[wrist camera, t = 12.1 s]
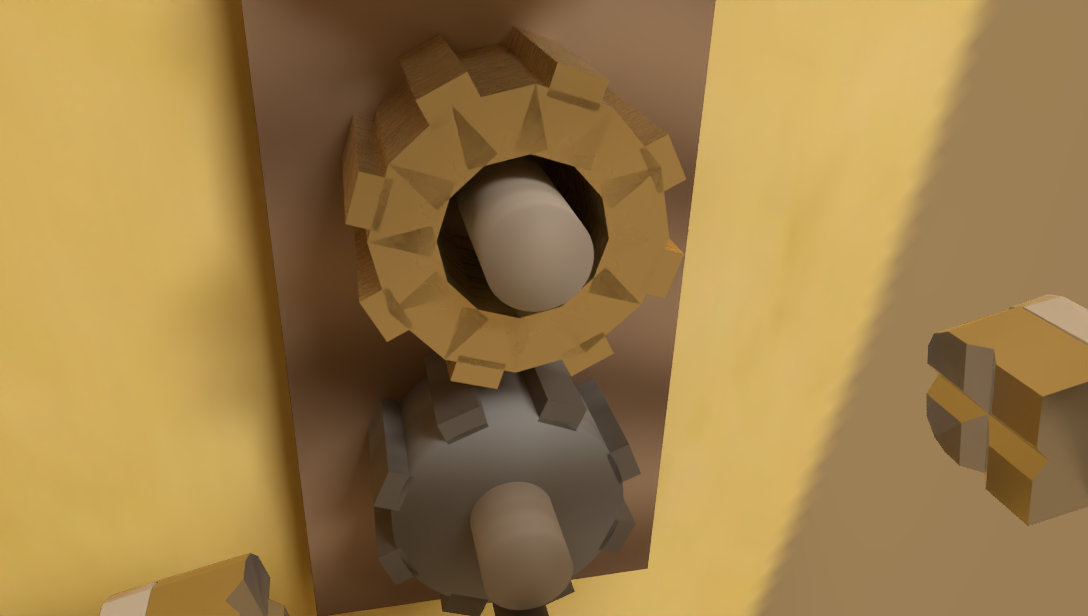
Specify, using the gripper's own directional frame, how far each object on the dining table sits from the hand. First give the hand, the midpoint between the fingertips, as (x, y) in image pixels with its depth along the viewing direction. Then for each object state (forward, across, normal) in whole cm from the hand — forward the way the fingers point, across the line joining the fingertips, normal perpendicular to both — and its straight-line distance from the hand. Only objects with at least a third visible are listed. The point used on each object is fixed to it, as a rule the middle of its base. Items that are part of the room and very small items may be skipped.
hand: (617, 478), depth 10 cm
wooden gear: (+11, -1, 0) cm, 11 cm away
